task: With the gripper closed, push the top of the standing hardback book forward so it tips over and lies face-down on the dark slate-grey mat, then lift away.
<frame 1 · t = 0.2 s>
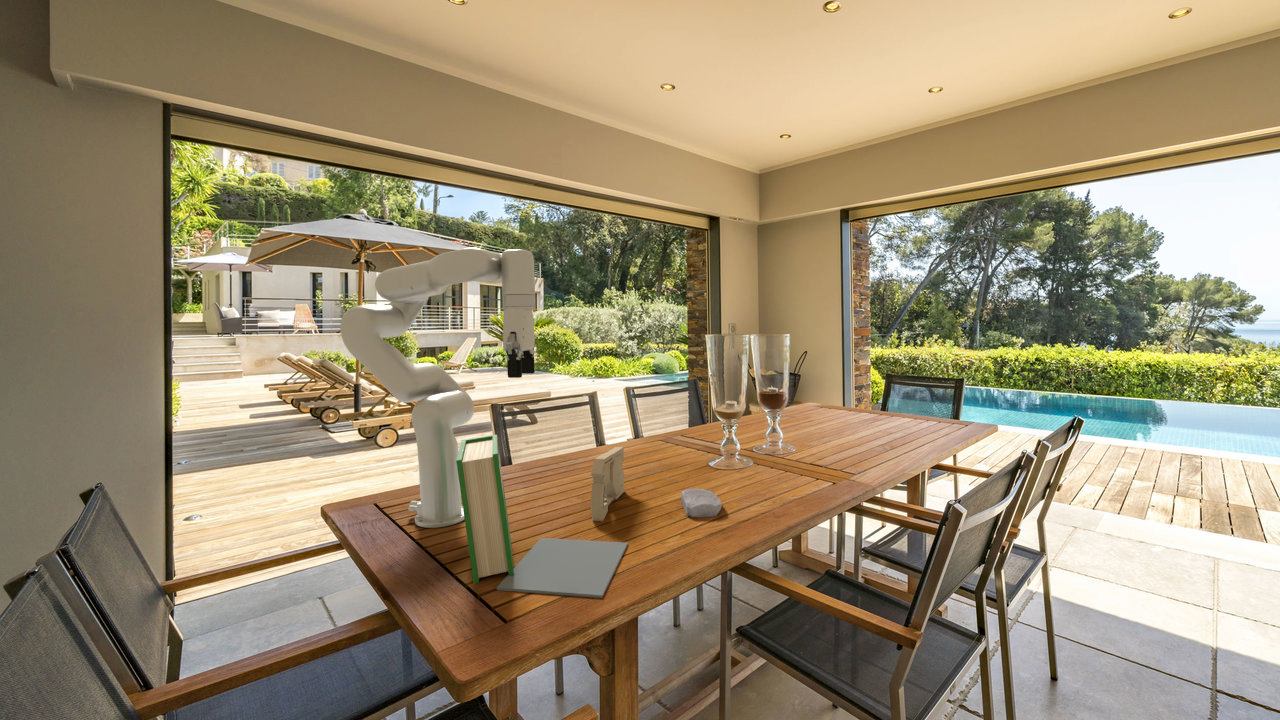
hand: (521, 375, 123), 37 cm above the table, tool pointing down, fingers open, 9 cm apart
hardback book: (494, 560, 107), on the table, touching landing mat
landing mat: (567, 565, 104), on the table
stone block: (702, 510, 134), on the table
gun: (609, 505, 138), on the table
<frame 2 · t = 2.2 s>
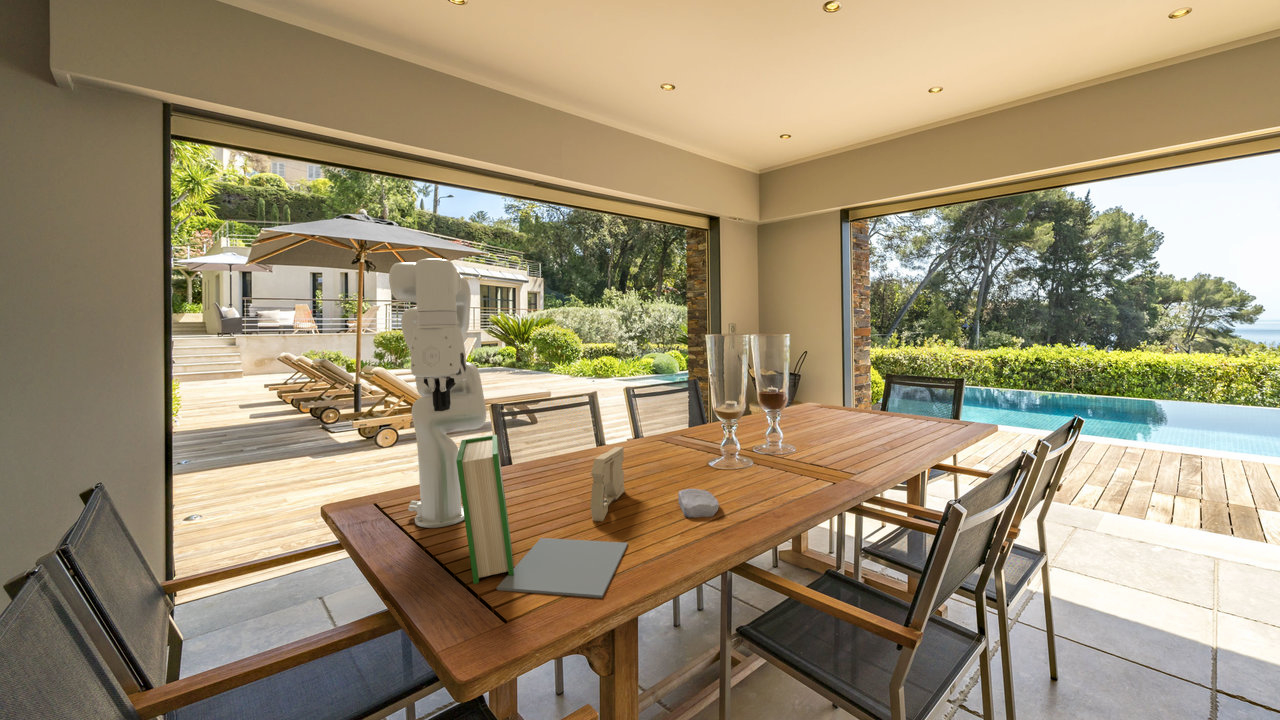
hand: (442, 410, 106), 31 cm above the table, tool pointing down, fingers closed
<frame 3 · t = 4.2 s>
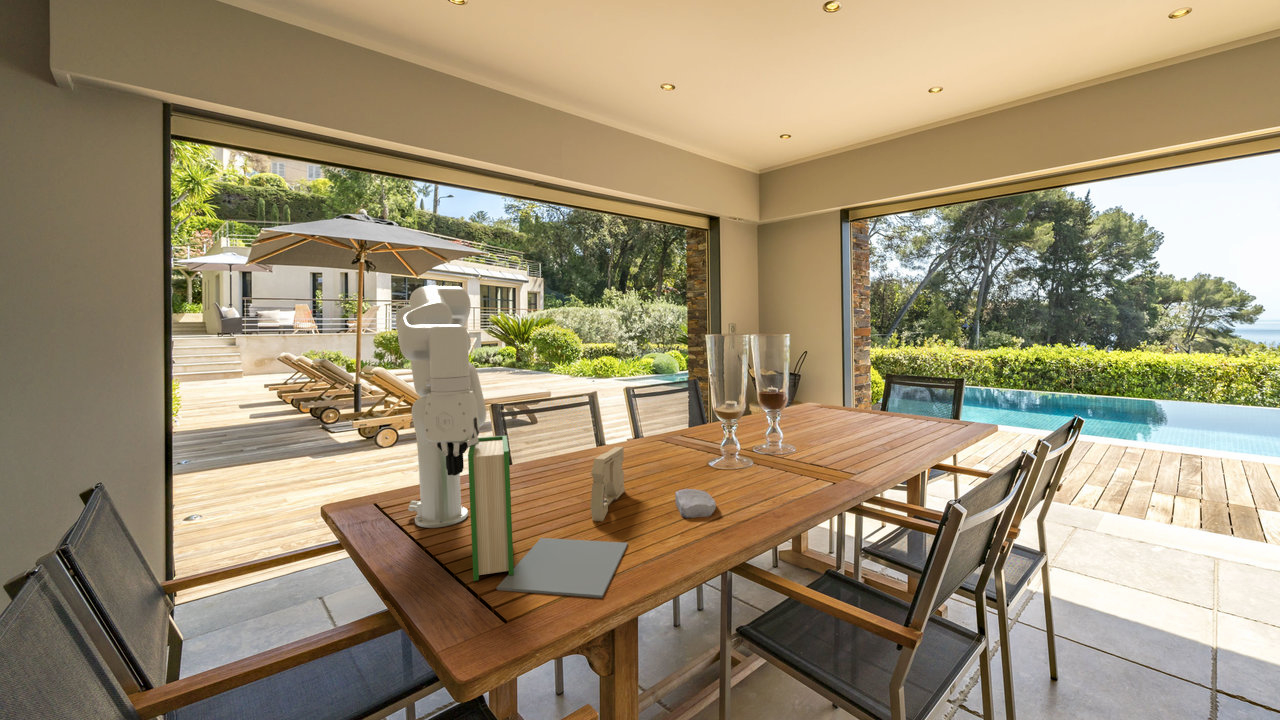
hand: (455, 473, 107), 18 cm above the table, tool pointing down, fingers closed
hardback book: (493, 560, 107), on the table, touching gripper, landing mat
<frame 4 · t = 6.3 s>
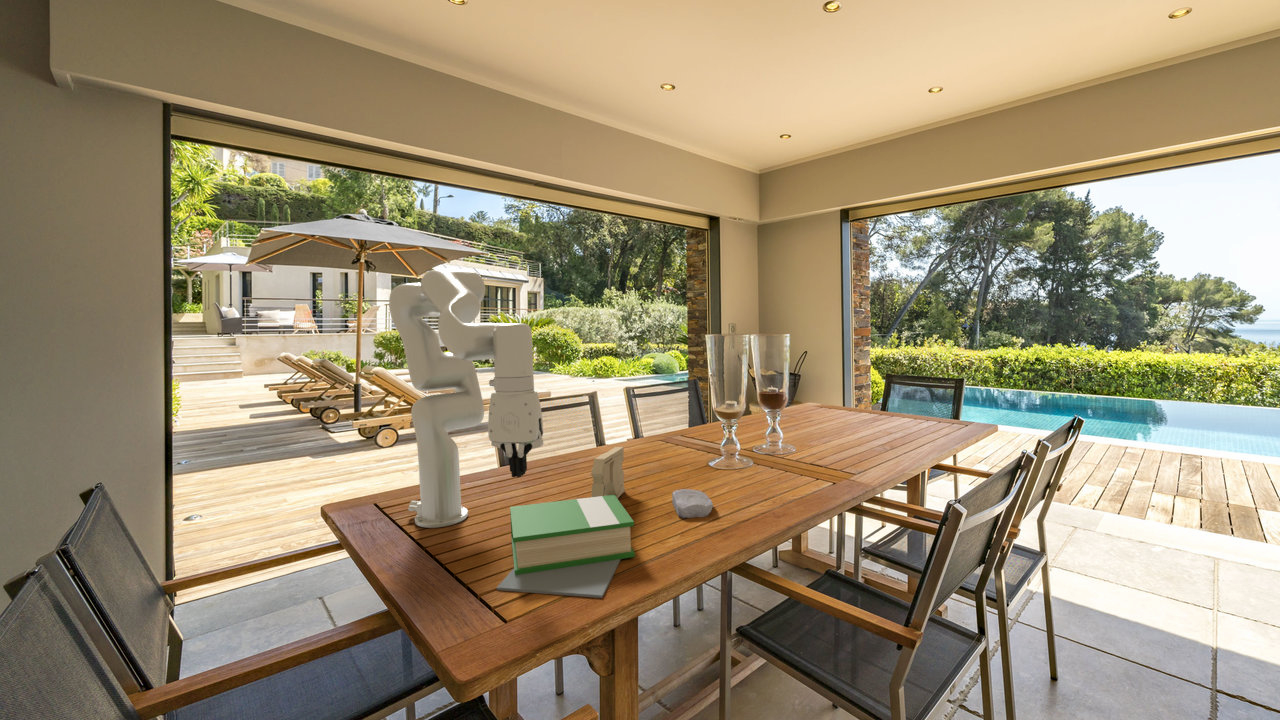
hand: (518, 475, 104), 18 cm above the table, tool pointing down, fingers closed
hardback book: (511, 538, 107), point 4 cm above the table, touching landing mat
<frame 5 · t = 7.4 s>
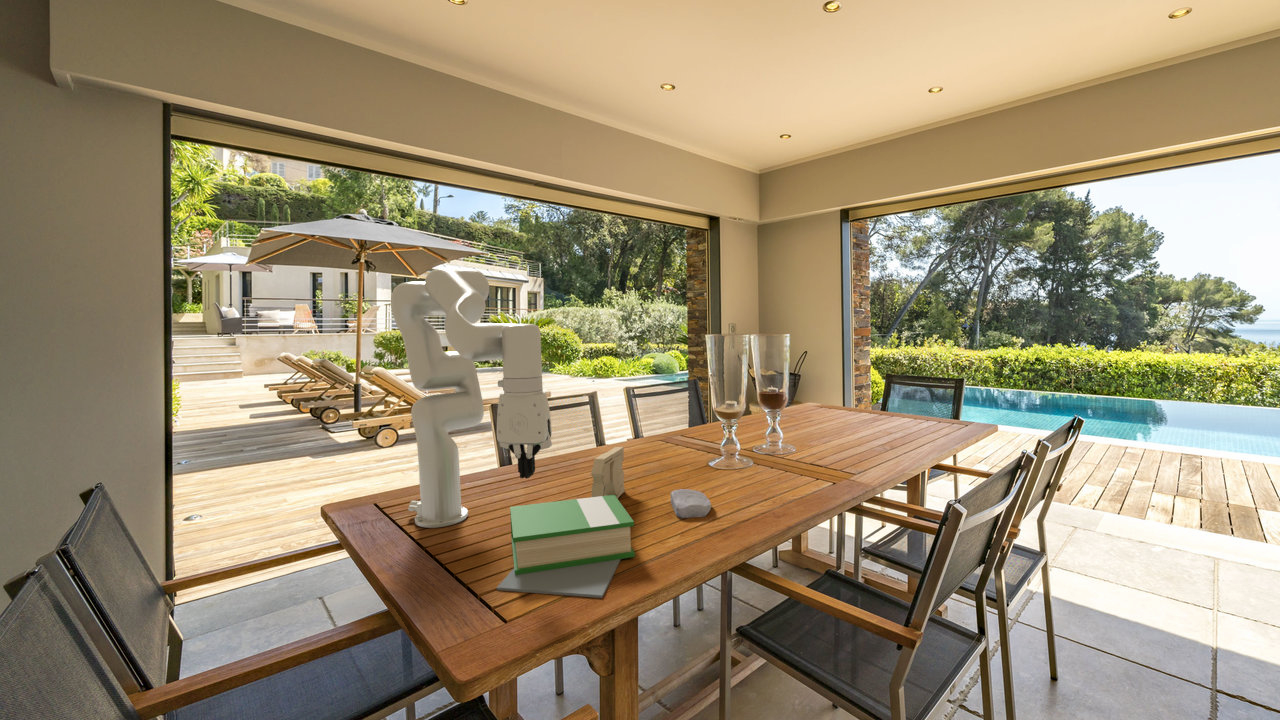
hand: (526, 476, 104), 18 cm above the table, tool pointing down, fingers closed
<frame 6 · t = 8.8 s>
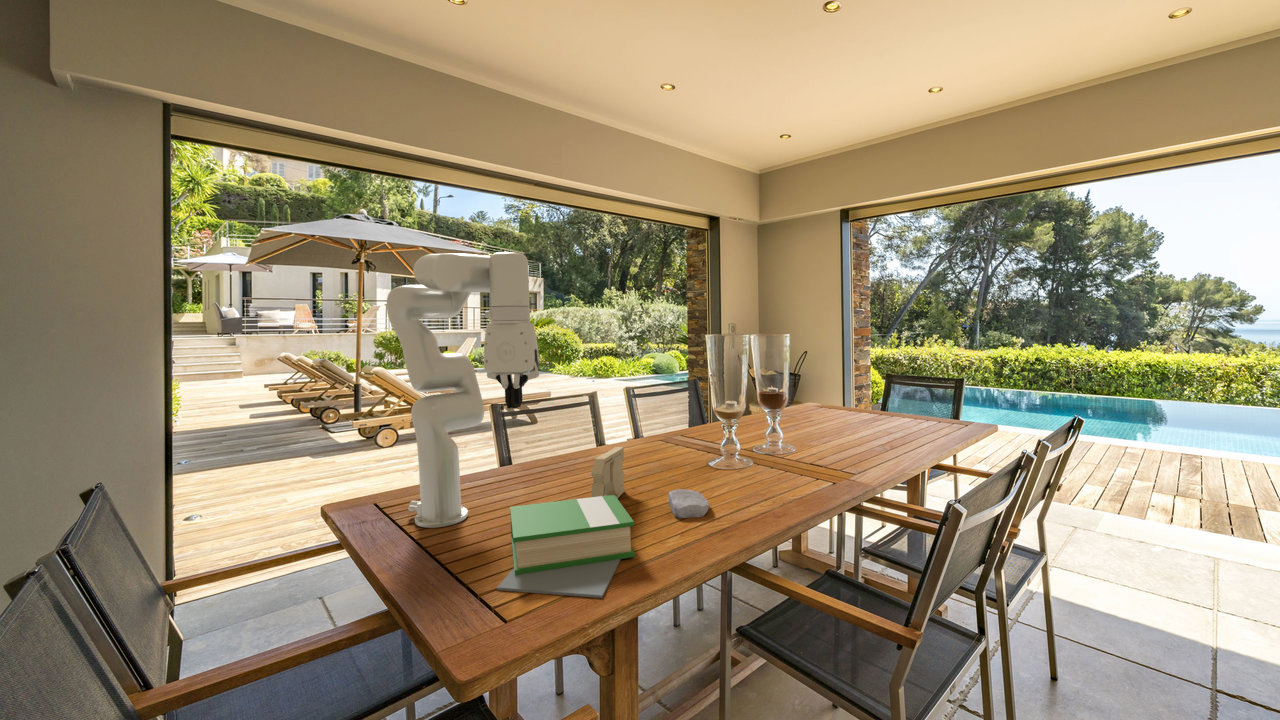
hand: (514, 407, 104), 32 cm above the table, tool pointing down, fingers closed
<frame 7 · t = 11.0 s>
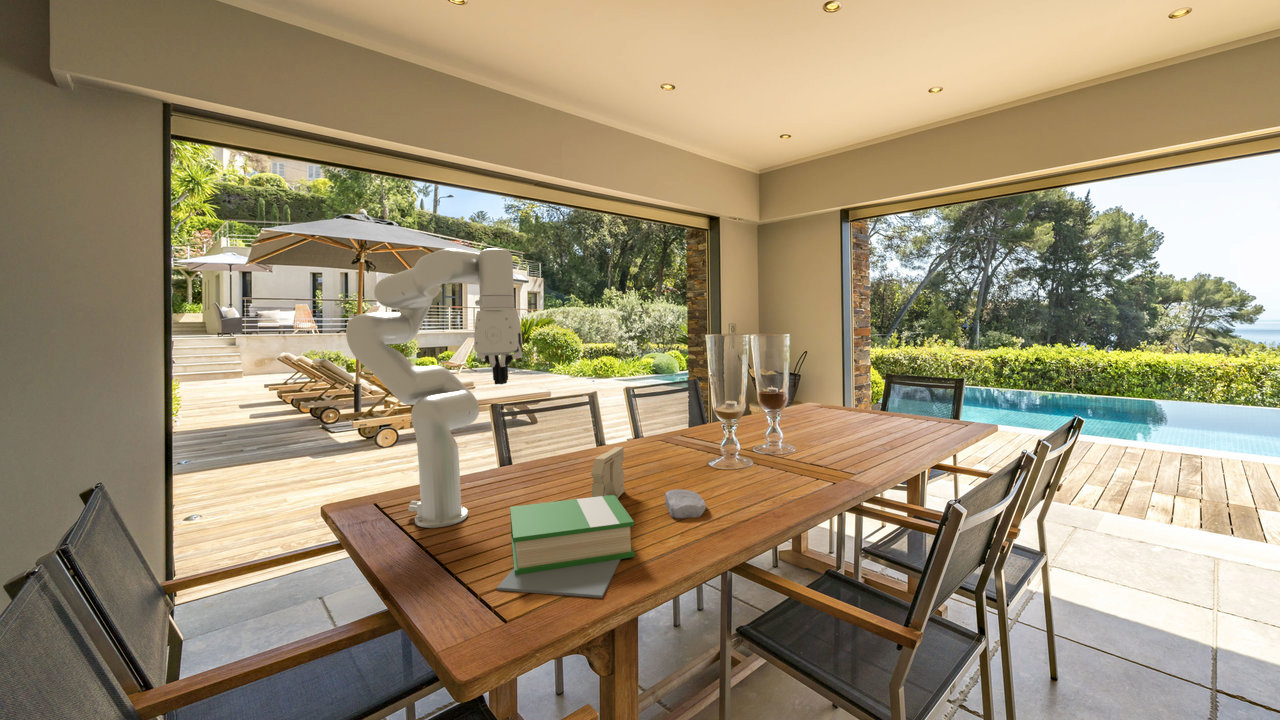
hand: (500, 383, 120), 35 cm above the table, tool pointing down, fingers closed
at the end: hardback book tilted 90°; hardback book touching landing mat; hardback book point 4.2 cm above the table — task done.
